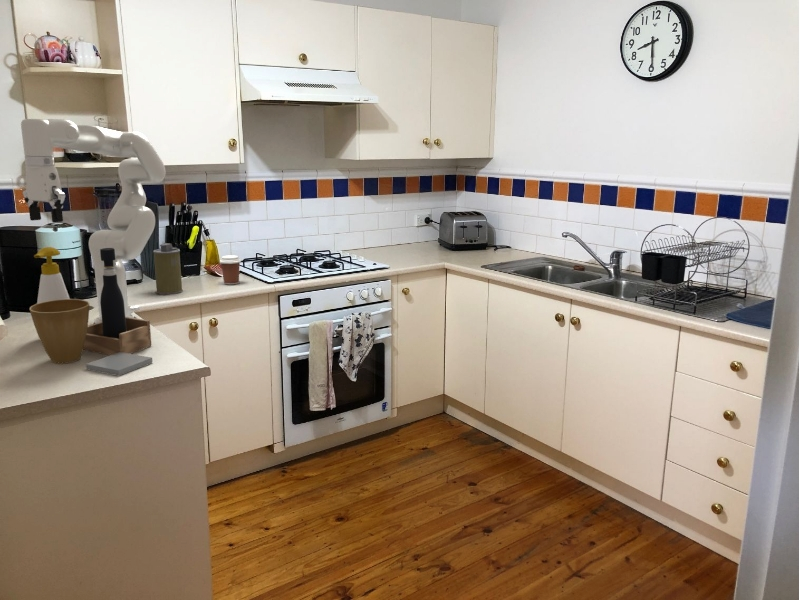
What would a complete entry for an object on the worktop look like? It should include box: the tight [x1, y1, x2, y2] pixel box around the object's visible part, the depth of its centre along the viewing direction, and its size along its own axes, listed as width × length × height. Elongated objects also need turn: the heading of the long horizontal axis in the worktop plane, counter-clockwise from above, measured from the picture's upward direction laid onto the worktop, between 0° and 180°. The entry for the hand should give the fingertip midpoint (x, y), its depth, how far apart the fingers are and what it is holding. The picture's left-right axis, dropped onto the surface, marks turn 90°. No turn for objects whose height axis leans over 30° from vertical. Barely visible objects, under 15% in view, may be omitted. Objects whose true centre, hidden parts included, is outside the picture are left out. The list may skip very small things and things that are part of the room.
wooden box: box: [83, 317, 152, 356], centre depth 197 cm, size 12×16×8 cm
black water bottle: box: [100, 248, 127, 339], centre depth 195 cm, size 6×6×30 cm
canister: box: [152, 242, 184, 295], centre depth 272 cm, size 11×10×20 cm
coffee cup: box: [219, 254, 242, 285], centre depth 290 cm, size 9×9×12 cm
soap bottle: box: [33, 246, 71, 304], centre depth 202 cm, size 13×10×29 cm
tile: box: [85, 352, 154, 376], centre depth 182 cm, size 12×12×2 cm
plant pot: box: [29, 298, 90, 364], centre depth 185 cm, size 15×15×16 cm
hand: (46, 221), depth 197 cm, fingers open, 9 cm apart
